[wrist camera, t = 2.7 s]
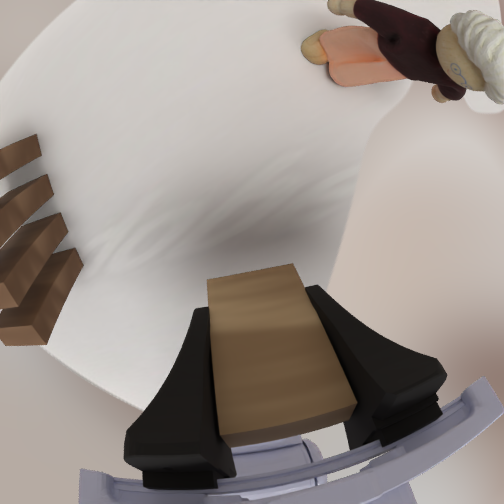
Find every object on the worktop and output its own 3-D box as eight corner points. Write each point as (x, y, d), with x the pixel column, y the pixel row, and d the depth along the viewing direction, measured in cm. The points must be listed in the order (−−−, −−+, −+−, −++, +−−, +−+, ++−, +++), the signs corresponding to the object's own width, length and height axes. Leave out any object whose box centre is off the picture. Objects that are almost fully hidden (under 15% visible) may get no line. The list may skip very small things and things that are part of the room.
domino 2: (54, 194, 15) (-10, 258, 8) (15, 210, 15) (-45, 272, 8) (47, 174, 14) (-23, 230, 8) (8, 192, 14) (-56, 248, 7)
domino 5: (293, 287, 15) (348, 420, 8) (213, 302, 15) (229, 447, 8) (292, 263, 14) (357, 402, 7) (206, 279, 14) (219, 434, 7)
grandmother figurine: (277, 64, 13) (437, 29, 3) (294, 14, 12) (446, -65, 1) (381, 107, 15) (545, 167, 5) (394, 62, 14) (559, 88, 3)
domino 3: (68, 231, 17) (18, 306, 10) (29, 243, 16) (-20, 312, 10) (60, 212, 16) (3, 282, 9) (21, 226, 16) (-34, 291, 9)
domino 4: (83, 265, 18) (46, 344, 12) (44, 273, 18) (5, 345, 11) (75, 247, 17) (31, 325, 11) (36, 258, 17) (-9, 328, 10)
